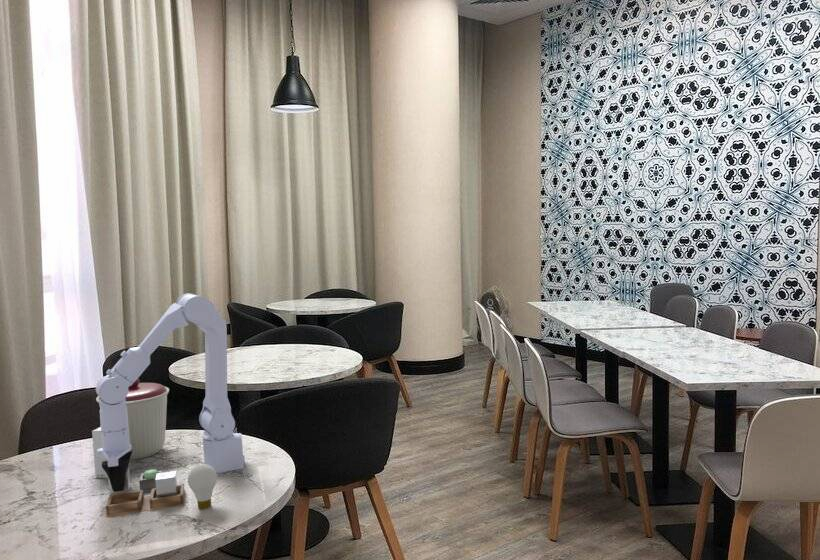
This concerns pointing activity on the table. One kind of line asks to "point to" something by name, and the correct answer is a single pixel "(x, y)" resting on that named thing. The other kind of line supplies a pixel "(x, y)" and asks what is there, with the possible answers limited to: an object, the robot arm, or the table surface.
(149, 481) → the button housing
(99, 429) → the skincare box
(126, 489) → the billet
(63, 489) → the table surface
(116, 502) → the wooden divided tray
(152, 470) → the button
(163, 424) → the canister
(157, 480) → the seated billet
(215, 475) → the light bulb
